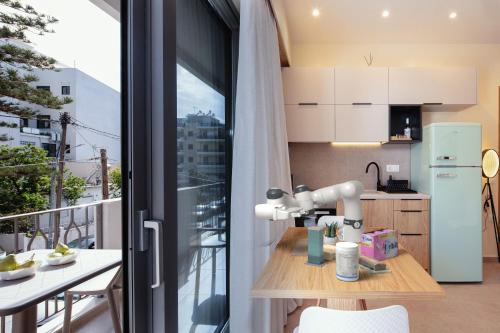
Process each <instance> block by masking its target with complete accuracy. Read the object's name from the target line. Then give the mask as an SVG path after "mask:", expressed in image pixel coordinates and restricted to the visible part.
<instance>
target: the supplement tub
mask: <svg viewBox="0 0 500 333" xmlns="http://www.w3.org/2000/svg"><path fill="white" fill-rule="evenodd" d="M335 246H336V258H335V277H336V278H337V280H340V281H344V282H357V281H358V280H359V277H360V275H359V274H360V271H359V269H360V267H359V255H360V254H359V252H360V251H359V244H358V243H353V242H345V241H340V242H339V241H338V242H336V243H335Z"/></svg>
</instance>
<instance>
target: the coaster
mask: <svg viewBox="0 0 500 333" xmlns="http://www.w3.org/2000/svg"><path fill="white" fill-rule="evenodd" d="M327 264H329V262H328V261H326V260H324V263H322V264H320V265H316V264H311V263H308V260H307V261H306V262H304V263H303V265H305V266H312V267H319V268H322V267H324V266H325V265H327Z"/></svg>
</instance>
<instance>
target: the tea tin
mask: <svg viewBox="0 0 500 333" xmlns="http://www.w3.org/2000/svg"><path fill="white" fill-rule="evenodd" d="M323 244H324V227H323V226H314V225H311V226H309V227H307V261H308V263H311V264H316V265H320V264H322V263H324V261H325V259H324V254H323Z"/></svg>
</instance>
